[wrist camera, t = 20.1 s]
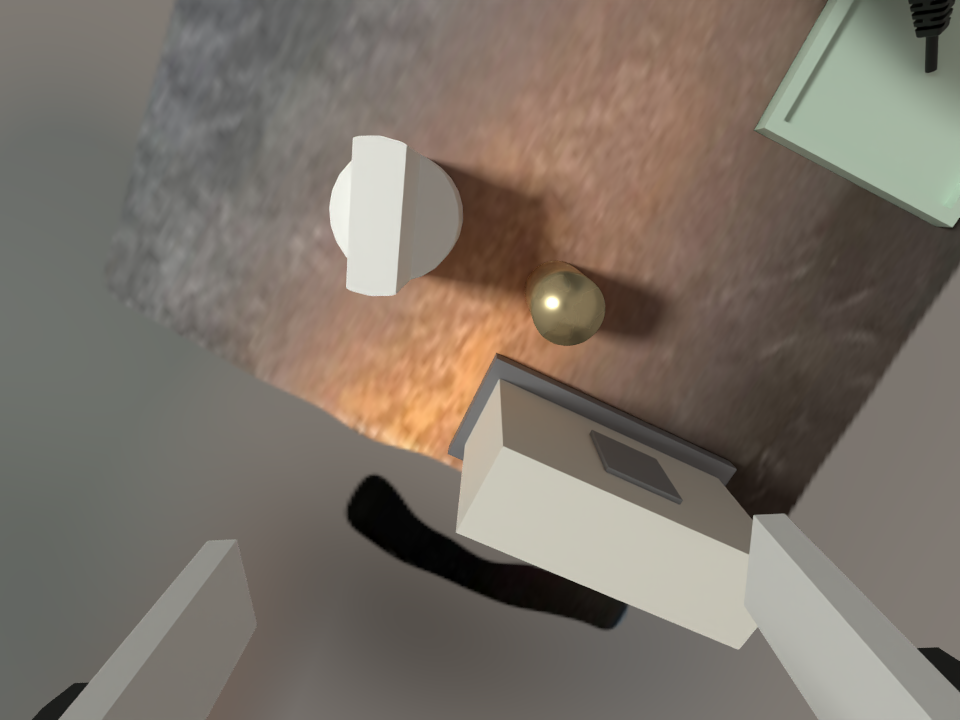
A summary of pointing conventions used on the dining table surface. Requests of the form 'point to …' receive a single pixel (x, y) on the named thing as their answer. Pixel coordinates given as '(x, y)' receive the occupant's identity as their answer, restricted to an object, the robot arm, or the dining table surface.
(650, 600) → the box
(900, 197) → the tray
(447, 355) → the dining table surface
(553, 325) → the cylinder
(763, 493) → the dining table surface
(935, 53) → the power plug
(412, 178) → the cylinder with rectangular tab
